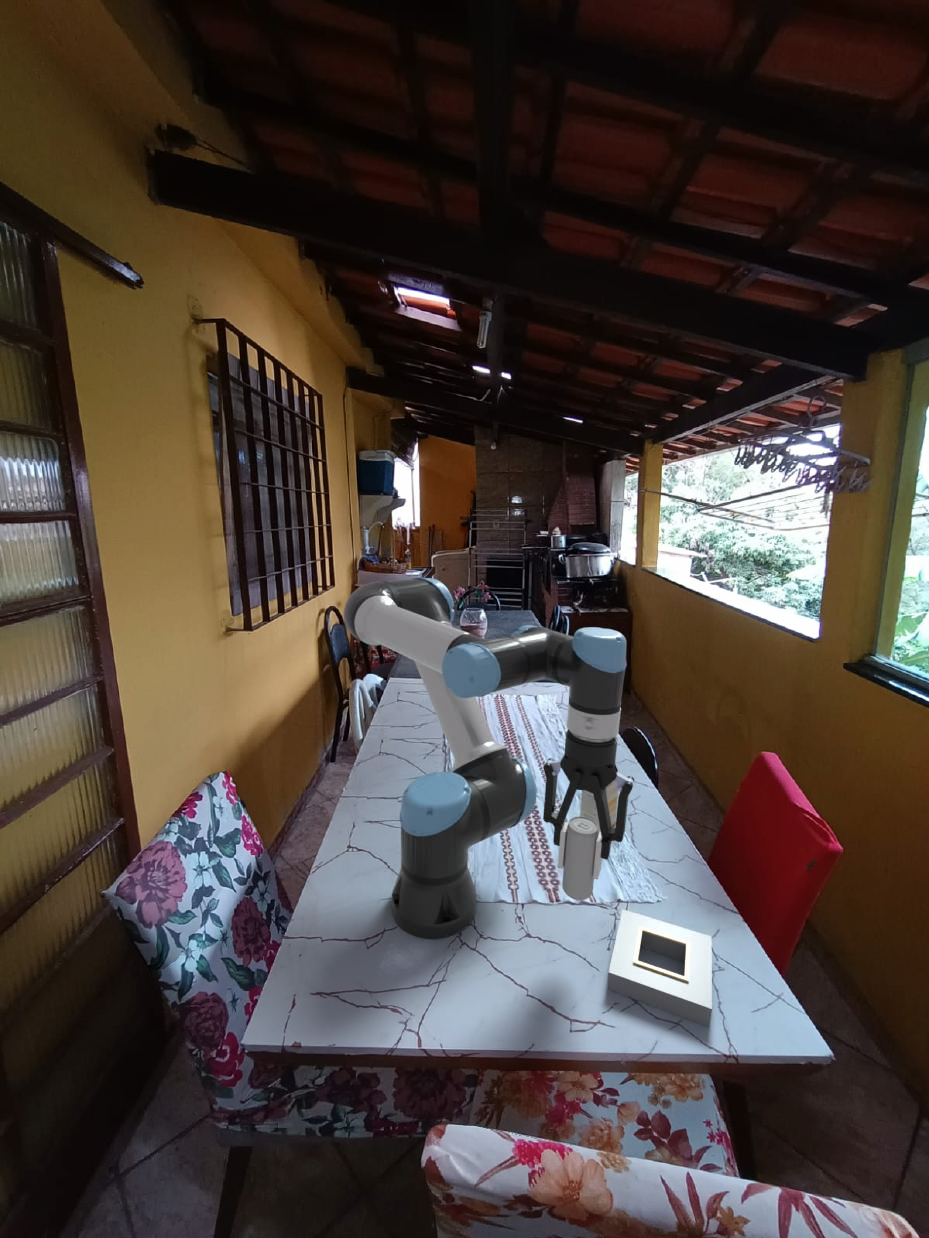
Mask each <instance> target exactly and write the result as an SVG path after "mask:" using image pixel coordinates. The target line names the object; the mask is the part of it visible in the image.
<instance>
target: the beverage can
mask: <svg viewBox="0 0 929 1238" xmlns="http://www.w3.org/2000/svg"><path fill="white" fill-rule="evenodd" d="M567 823H568V826H567V836H566V847H565V859H564V866H563V871H562V873H563V874H562V885H561V887H562V890H563V892H564V893H565V894H566V896H568V897H569V898H570V899H572V900H575V901H586V900H587V899H589V898H590V897H592V895H593V892H594V891H593V890H594V882H595V879H594V878H593V873H594V862H595V852H596V842H597V838H598V834H599V830H598V825H597V823H596V822H595V821H593V820H592V819H590V818H587V817H580V816H574V817H572V818H570V819H569V820H568V822H567Z"/></svg>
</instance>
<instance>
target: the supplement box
mask: <svg viewBox="0 0 929 1238" xmlns="http://www.w3.org/2000/svg"><path fill="white" fill-rule="evenodd" d="M618 773H620V771H618ZM620 774H621V773H620ZM580 795H581V796H580V812H579V817H587V818H590V819H592V820H593V821H595V822H596V823H597V825H598V830H599V832H601V831H600V825H599V819H598V813H597V808H596V802H595V800H594V796H593V793H590V792H588V791H586V790H581V794H580ZM606 795H607V801H608V807H609V813H610V819H611V825H612V827H614V826H616V816H617V806H618V798H619V790H618V789H617V783H616V781H615V780H614V781H613V782H612V783H611V784H609V785H608V786H607V787H606ZM598 835H599V834H598Z"/></svg>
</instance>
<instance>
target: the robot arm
mask: <svg viewBox="0 0 929 1238" xmlns="http://www.w3.org/2000/svg"><path fill="white" fill-rule="evenodd" d="M454 607H455V603H454V599H453V596H452V595H451V593H450V590H449V589H448V587H447V586H446V585H445V584H443V582H442V581H441V580H440V581H439V580H438V579H435V578H431V577H430V578H429V577H419V576H418V577H414V578H409V579H398V580H397V579H396V580H383V581H371V582H369V583H365V584H363V585H361V586H359V587H358V588H356V589H355V590H354V591H353V592H352V593H351V594H350V596H348V599H347V601H346V602H345V605H344V610H343V619H344V624H345V626H346V629H347V630H348V631H349V632H350V633H351V635H352V636H353V637H354V638H356V639H357V640H359V641H361V642H363V643H365V644H367V645H370V646H383V647H385V648H387V649H390V650H391V651H394V652H396V653H397V654H399V655H401V656H404V657H406V658H408V659H410V660H412V661H414V663H415V666H416V669H417V671H418V673H419V675H420V677H421V680H422V683H423V685H424V687H425V690H426V692H427V695H428V697H429V700H430V702H431V705H432V707H433V710H434V712H435V715H436V717H437V720H438V722H439V725H440V726H441V730H442V732H443V734H444V737H445V739H446V741H447V744H448V747H449V749H450V752H451V753H452V756H453V759H454V762H453V765H452V768H451V770H450V771H442V772H441V773H439V772H438V771H433V772H430V773H426V774H423V775H421V776H418V777H417V778H415V779H414V780H413V781H411V782H410V783H409V784H408V786H407V787H406V789H405V790H404V791H403V794H402V797H401V806H400V812H399V821H400V851H401V853H400V856H401V857H400V861H401V863H400V869H399V872H398V875H397V878H396V880H395V883H394V886H393V888H392V892H391V900H390V901H391V914H392V918H393V919H394V921H395V923H396V924H397V925H398V926H399V928H401V929H402V930H403V931H405V932H407V933H409V934H410V935H413V936H416V937H419V938H422V939H423V938H424V939H441V938H442V939H443V938H446V937H450V936H453V935H455V934H457V933H459V932H461V931H463V930H464V929H466V927H468V925H469V924H471V922H472V920H474V917H475V915H476V912H477V890H476V888H475V885H474V881H473V878H472V875H471V872H470V869H469V867H468V866H469V864H468V861H469V860H468V859H469V849H470V847H472V846H474V845H476V844H479V843H480V842H482V841H485V840H487V839H489V838H491V837H493V836H495V835H497V834H499V833H501V832H504V831H505V830H508V829H512V828H513V827H516V826H517V825H518V824H519V823H521V822H523V821H524V820H526V819H528V818H529V816H531V815H532V813H533V812H534V809H535V807H536V801H537V795H538V793H537V783H536V779H535V777H534V775H533V773H532V770H531V769H530V767H529V766H528V765H527V763H526V762H523V760H522V759H520V758H518V757H514V756H511V755H510V752H509V751H508V748H507V746H504V745H503V744H500V743H498V742H496V740H495V738H494V736H493V733H492V731H491V729H490V727H489V724H488V722H487V719H486V718H485V715H484V713H483V711H482V708H481V706H480V704H479V701H478V699H477V698H478V697H479V698H480V697H485V696H489V694H493V693H495V692H496V693H497V692H500V691H503V690H507V689H510V688H513V687H518V686H521V685H525V684H529V683H533V682H537V681H540V680H548V681H552V682H554V683H556V684H560V685H563V686H566V687H568V688H569V691H568V707H567V716H566V717H567V718H566V728H567V729H566V732H565V743H564V754H563V756H562V757H561V759H554V758H551V757H550V758H548V759H547V760H546V762H545V763H544V765H543V771H544V772H543V773H544V775H545V792H544V802H543V803H544V804H543V815H542V820H543V821H544V822H545V823H547V824H549V823H550V824H551V825H552V826H553V827H554V828H553V829H554V831H553V841H552V842H553V844H554V846H558V847H559V848H558V857H557V858H558V859H557V868H558V869H561V870H562V869H564V859H565V847H566V836H567V826H568V823H569V822H566V818H567V815H568V814H569V810H570V808H571V805H572V804H573V800H574V798H575V795H576V793H577V791H578V790H579V791H582V790H586V791H588V792H590V793H593V796H594V800H595V802H596V808H597V813H598V819H599V825H600V831H601V832H599V835H598V838H597V842H596V852H595V862H594V873H593V878H594V880H599V877H600V873H601V871H602V863H603V862H602V861H603V860H606V861H607V860H608V859H609V858H610V854H611V846H612V842H613V841H616V842H617V843H622V842H623V840H624V836H625V831H626V825H627V823H626V822H627V815H628V813H627V812H628V806H629V805H628V804H629V796H630V794H631V792H632V790H633V787H634V784H635V778H634V777H633V776H632V775H628V776H625V775H623V774H622V773H618V772H619V770H618V767H617V765H616V759H617V747H618V741H619V740H618V737H617V735H619V729H620V720H621V711H622V709H621V705H622V694H623V688H624V687H623V686H624V679H625V675H626V674H625V672H626V668H627V639H626V637H625V636H624V635H623V634H622V633H621V632H620V631H617V630H614V629H611V628H603V627H595V626H593V627H590V626H589V627H582V628H579V629H577V630H576V631H575V632H574V635H569V634H566V633H562V632H559V631H556V630H555V631H554V630H553V629H552V630H551V629H549V628H548V627H544V626H540V625H538V626H537V625H531V624H525V625H521V626H520V627H518V629H517V630H515V631H514V632H512V634H511V635H510V636H504V637H497V638H493V639H491V638H489V639H487V638H485V637H480V636H478V635H474V634H472V633H470V632H467V631H464V630H462V629H459V628H456V627H454V626H453V625H452V623H453V620H454V618H455V610H454V609H453V608H454ZM561 771H562V772H563V773H564V775H565V776H566V778H567V780H568V781H569V783H568V787H567V789H566V791H565V795H564V797H563V801H562V803H561V805H560V808H559V810H558V813H557V812H555V811H556V810H555V809H556V800H557V799H556V798H557V790H558V789H557V785H558V775H559V774H560V772H561ZM614 780H615V781H616V783H617V789H618V792H619V793H618V800H617V812H616V824H615V825H614V826H615V827H614V828H613V826H612V825H611V819H610V813H609V807H608V801H607V795H606V787H607V786H608V785H609V784H611V783H612V782H613V781H614Z"/></svg>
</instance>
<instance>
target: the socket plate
mask: <svg viewBox="0 0 929 1238" xmlns="http://www.w3.org/2000/svg"><path fill="white" fill-rule="evenodd" d="M616 931H617V932H616V937H615V941H614V946H613V950H612V955H611V960H610V963H609V968H608V974H607V976H608V977H607V986H606V990H609V991H611V992H614V993H617V994H619V995H622V996H624V997H627V998H630V999H633V1000H637V1001H639V1002H641V1003H644V1004H645V1005H649V1006H652V1007H655V1008H658V1009H661V1010H662V1011H665V1012H668V1013H671V1014H673V1015H676V1016H678V1017H679V1016H680V1017H682V1018H684V1019H688V1020H690V1021H693V1022H695V1023H698V1024H701V1025H703V1026H706V1027H709V1028H710V1027H711V1019H712V1012H713V960H712V959H713V957H712V956H713V950H712V949H713V947H712V946H713V945H712V941H713V940H712V939H713V938H712V937H713V936H712V935H708V934H705V933H702V932H698V931H695V930H692V929H688V928H686V927H682V926H679V925H675V924H672V923H669V922H666V921H664V920H659V919H657V918H656V919H655V918H653V917H650V916H646V915H643V914H639V913H637V912H633V911H630V910H628V909H627V910H626V909H623V908H622V909H621V912H620V918H619V922H618V927H617V930H616ZM641 948H642V949H645V950H648V951H650V952H651V951H652V952H655V953H658V954H661V955H664V956H667V957H669V958H672V959H676V960H678V961H682V962H683V970H682V971H683V973H682V974H683V975H681V974H678V973H676V972H672V971H670V970H667V969H664V968H661V967H658V966H655V965H652V964H648V963H646V962H643V961H640V959H639V958H640V955H641Z"/></svg>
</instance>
